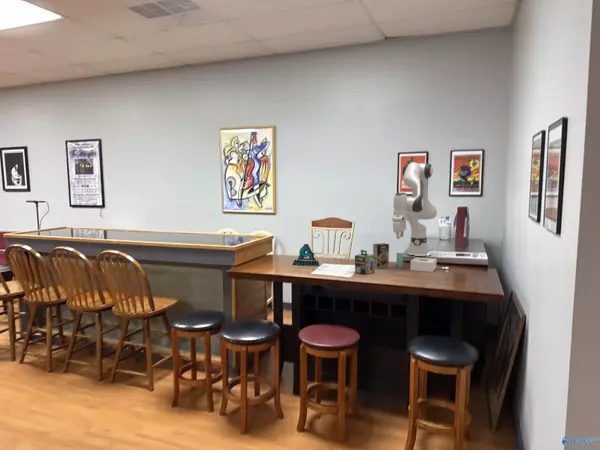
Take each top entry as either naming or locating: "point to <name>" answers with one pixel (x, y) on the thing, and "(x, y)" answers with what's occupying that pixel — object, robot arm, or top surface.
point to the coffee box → (381, 255)
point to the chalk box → (364, 263)
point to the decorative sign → (306, 261)
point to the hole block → (423, 264)
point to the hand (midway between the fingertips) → (399, 237)
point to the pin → (399, 261)
